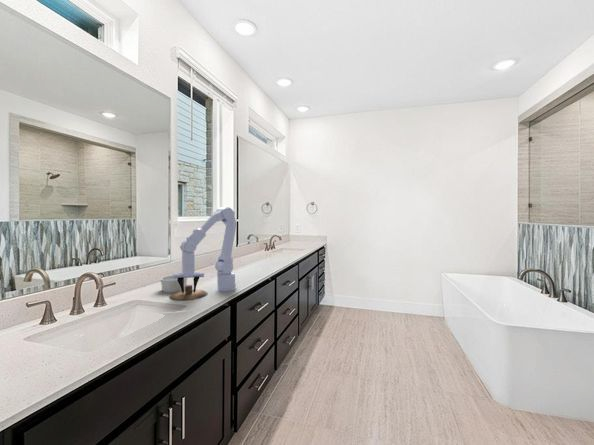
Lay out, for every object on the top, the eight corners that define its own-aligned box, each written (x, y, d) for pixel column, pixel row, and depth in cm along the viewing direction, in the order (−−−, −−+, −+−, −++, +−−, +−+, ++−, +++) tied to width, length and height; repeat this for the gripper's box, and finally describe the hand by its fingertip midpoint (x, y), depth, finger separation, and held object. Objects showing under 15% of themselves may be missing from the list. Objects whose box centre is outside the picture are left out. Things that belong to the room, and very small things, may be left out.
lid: (206, 290, 150) (206, 281, 150) (204, 298, 135) (204, 288, 134) (174, 292, 146) (174, 283, 146) (168, 301, 131) (168, 290, 131)
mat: (209, 290, 151) (208, 289, 151) (206, 300, 134) (206, 299, 134) (172, 292, 147) (172, 291, 147) (165, 303, 129) (165, 302, 129)
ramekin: (181, 294, 145) (181, 280, 145) (155, 294, 145) (155, 280, 145) (191, 287, 158) (191, 275, 158) (168, 287, 159) (167, 275, 158)
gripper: (171, 267, 134) (171, 295, 135) (203, 265, 138) (203, 293, 138) (173, 264, 141) (174, 291, 142) (204, 263, 145) (204, 289, 145)
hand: (188, 292), depth 140 cm, fingers open, 5 cm apart
